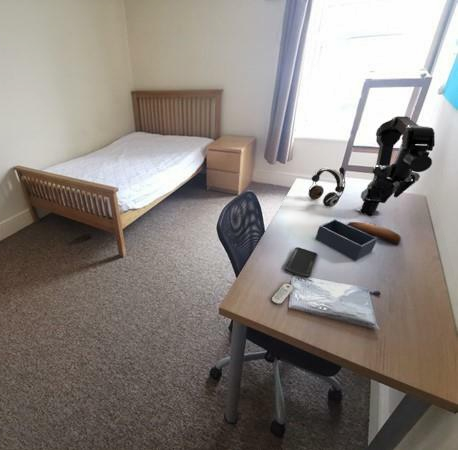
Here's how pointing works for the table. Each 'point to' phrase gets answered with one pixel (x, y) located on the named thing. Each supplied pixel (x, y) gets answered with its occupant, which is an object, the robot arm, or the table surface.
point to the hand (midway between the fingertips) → (388, 199)
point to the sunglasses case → (376, 231)
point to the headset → (318, 190)
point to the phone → (301, 262)
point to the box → (346, 239)
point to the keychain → (282, 294)
